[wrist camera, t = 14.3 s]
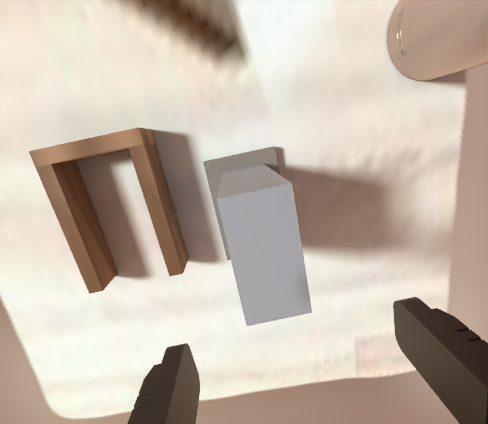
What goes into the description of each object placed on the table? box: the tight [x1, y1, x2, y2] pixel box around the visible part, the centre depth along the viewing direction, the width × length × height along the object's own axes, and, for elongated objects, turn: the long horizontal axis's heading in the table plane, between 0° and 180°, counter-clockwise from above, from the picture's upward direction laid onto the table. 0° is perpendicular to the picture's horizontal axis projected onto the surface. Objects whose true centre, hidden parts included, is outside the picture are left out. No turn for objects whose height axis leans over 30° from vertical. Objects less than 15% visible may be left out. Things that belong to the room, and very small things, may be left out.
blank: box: [217, 163, 312, 326], centre depth 23 cm, size 4×9×14 cm, turn 11°
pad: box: [203, 147, 280, 260], centre depth 30 cm, size 8×12×1 cm, turn 12°
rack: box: [29, 128, 189, 293], centre depth 28 cm, size 10×16×4 cm
